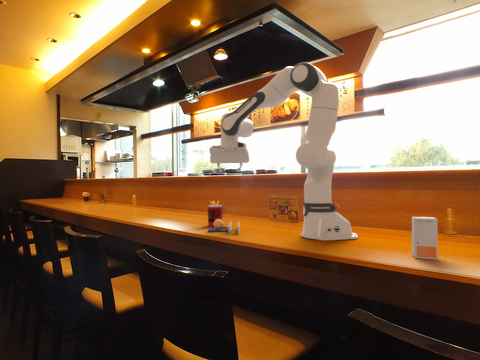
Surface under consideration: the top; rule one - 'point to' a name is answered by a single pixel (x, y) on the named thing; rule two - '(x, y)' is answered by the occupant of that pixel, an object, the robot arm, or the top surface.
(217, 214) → the canned food
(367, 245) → the top surface
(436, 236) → the skincare box
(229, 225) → the walls
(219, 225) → the ball
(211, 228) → the coaster
